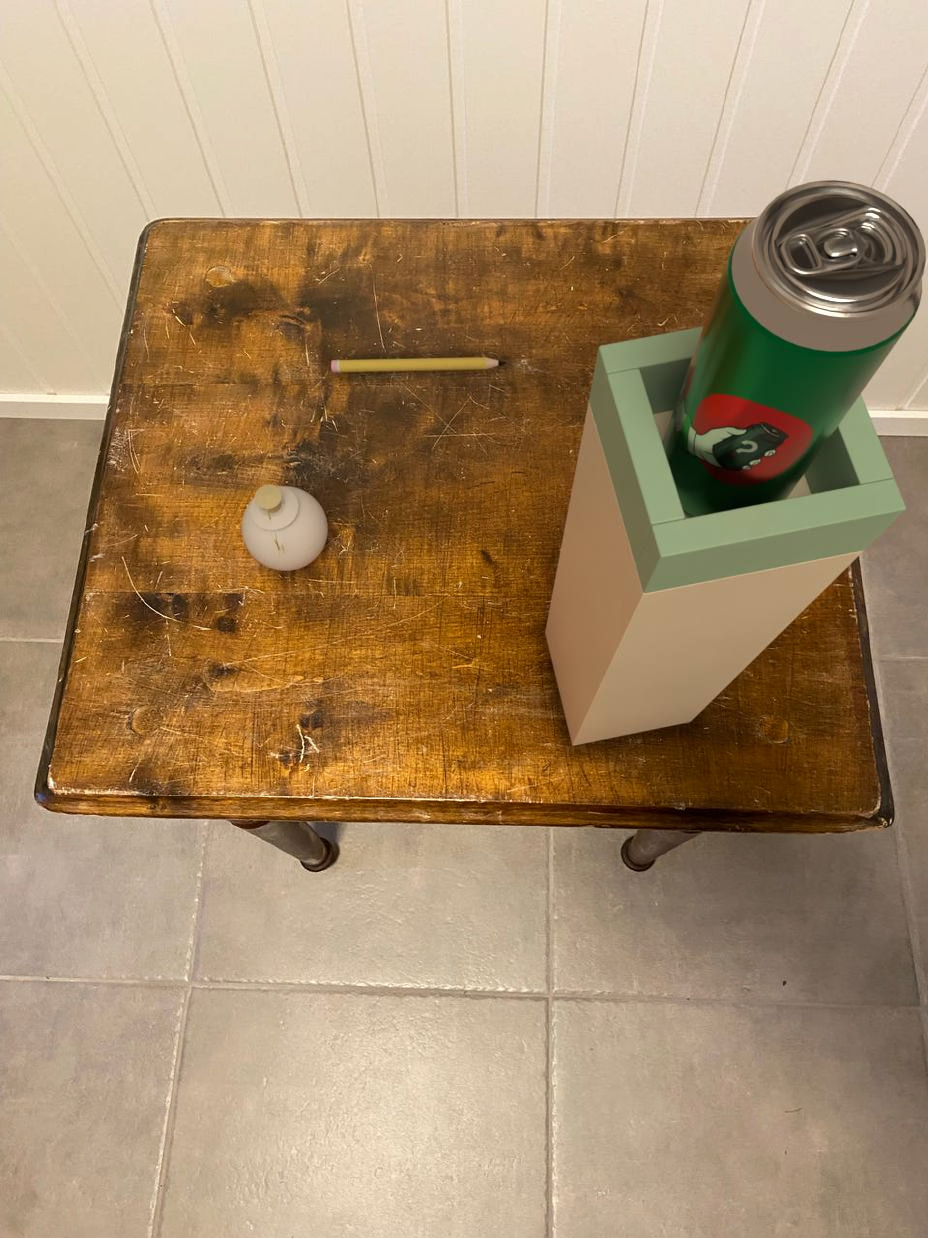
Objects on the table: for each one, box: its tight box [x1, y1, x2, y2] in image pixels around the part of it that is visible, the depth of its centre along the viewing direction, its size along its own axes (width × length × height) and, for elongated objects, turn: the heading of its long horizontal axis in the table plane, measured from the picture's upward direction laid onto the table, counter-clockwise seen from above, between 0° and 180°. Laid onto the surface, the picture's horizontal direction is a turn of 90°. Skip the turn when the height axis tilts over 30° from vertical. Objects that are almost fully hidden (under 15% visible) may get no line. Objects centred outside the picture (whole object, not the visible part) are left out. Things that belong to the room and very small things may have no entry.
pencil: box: [330, 356, 507, 373], centre depth 70 cm, size 1×14×1 cm, turn 91°
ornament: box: [241, 484, 329, 572], centre depth 61 cm, size 6×7×10 cm
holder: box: [544, 325, 907, 747], centre depth 46 cm, size 8×8×34 cm
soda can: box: [662, 179, 927, 517], centre depth 28 cm, size 5×5×12 cm
